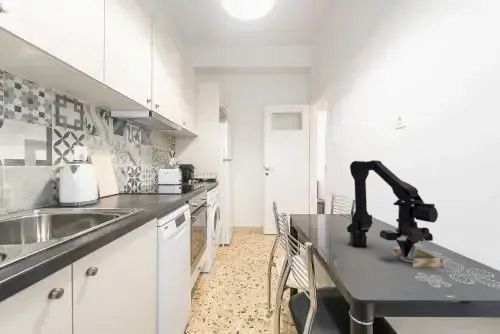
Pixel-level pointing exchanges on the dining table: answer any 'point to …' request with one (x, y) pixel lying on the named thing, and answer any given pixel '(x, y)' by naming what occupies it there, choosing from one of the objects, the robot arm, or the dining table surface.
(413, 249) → the pacifier
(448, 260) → the dining table surface
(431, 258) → the box
